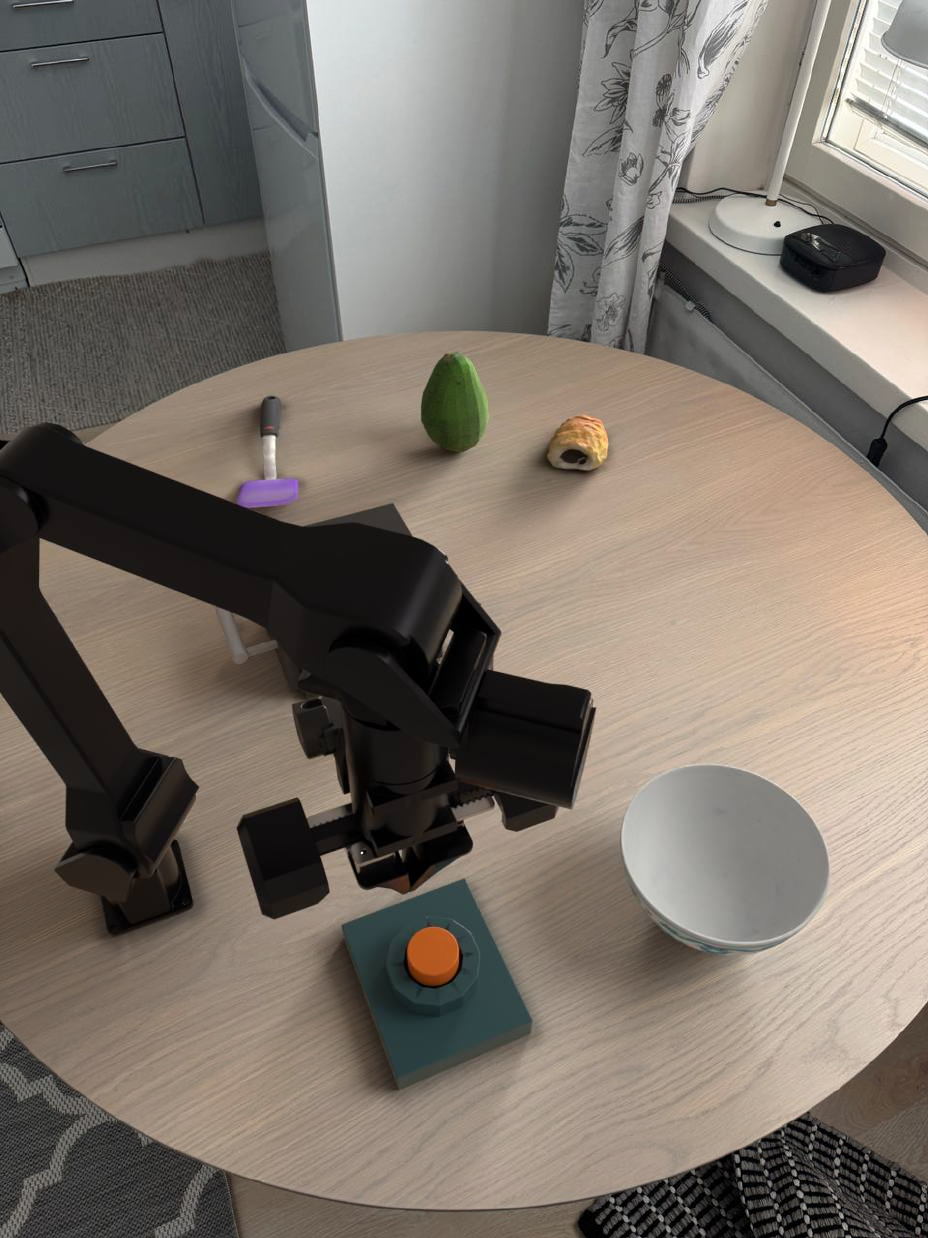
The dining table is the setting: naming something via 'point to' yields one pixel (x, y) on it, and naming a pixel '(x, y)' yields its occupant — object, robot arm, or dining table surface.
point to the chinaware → (723, 859)
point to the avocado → (454, 404)
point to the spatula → (268, 465)
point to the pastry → (579, 444)
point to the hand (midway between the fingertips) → (405, 886)
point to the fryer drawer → (255, 648)
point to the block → (435, 1015)
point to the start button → (433, 956)
